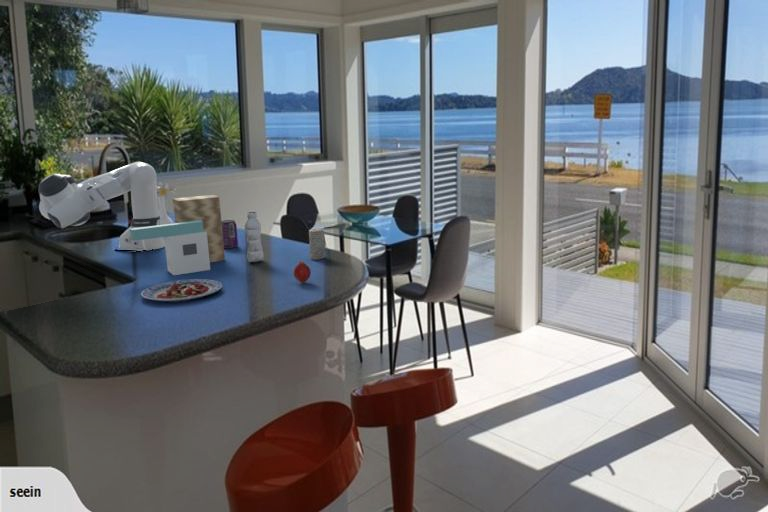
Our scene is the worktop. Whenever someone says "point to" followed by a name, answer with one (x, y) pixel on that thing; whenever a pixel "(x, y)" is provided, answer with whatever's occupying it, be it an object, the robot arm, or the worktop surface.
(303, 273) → the red pomegranate
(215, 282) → the ceramic plate
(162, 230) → the teal block
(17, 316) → the worktop surface
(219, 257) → the oak stand
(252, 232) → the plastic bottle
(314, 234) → the carving
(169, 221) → the flower vase
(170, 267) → the white box
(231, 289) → the worktop surface
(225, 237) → the beverage can
